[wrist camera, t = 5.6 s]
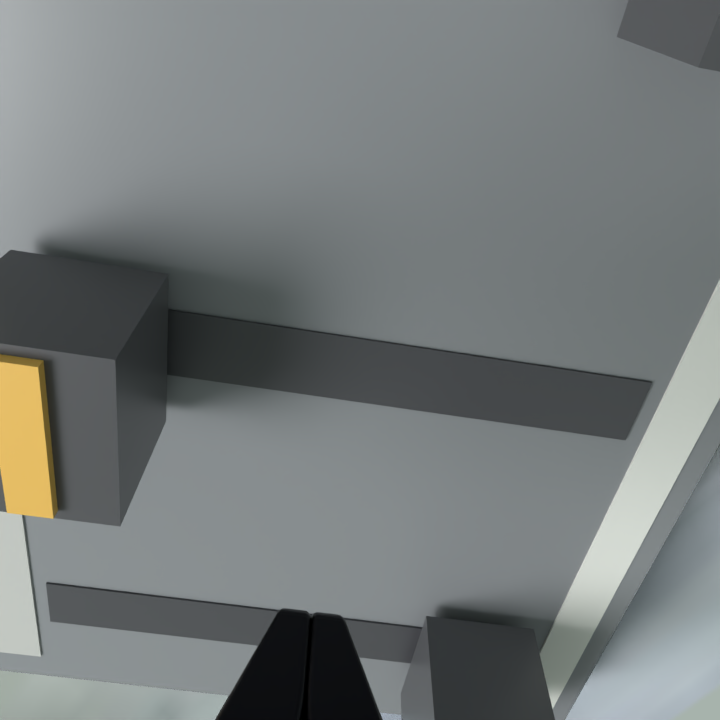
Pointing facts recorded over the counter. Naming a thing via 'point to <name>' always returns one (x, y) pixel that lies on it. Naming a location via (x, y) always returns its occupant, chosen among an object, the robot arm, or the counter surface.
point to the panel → (377, 328)
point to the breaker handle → (79, 384)
